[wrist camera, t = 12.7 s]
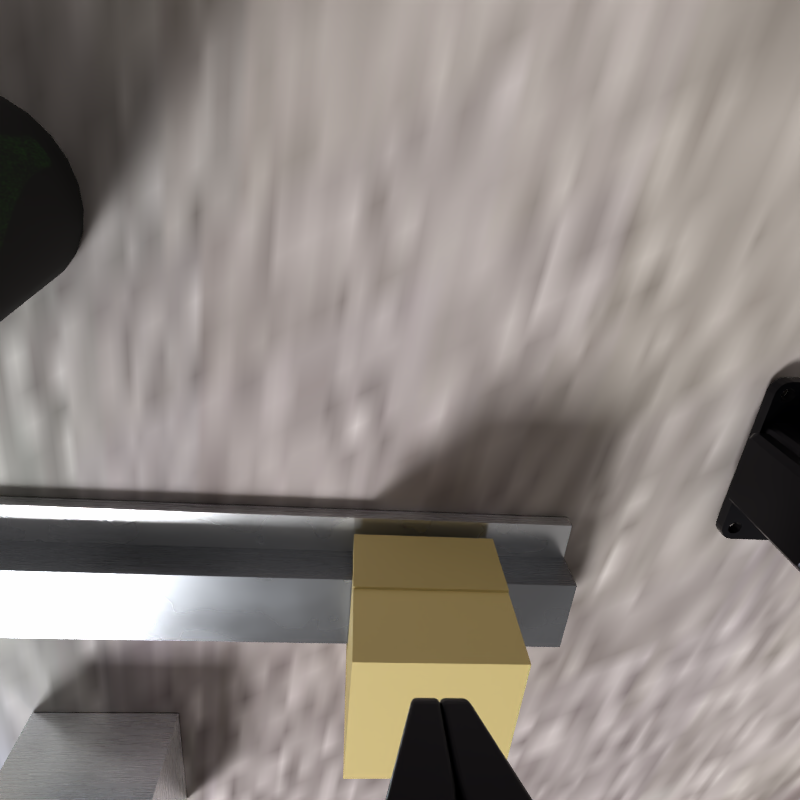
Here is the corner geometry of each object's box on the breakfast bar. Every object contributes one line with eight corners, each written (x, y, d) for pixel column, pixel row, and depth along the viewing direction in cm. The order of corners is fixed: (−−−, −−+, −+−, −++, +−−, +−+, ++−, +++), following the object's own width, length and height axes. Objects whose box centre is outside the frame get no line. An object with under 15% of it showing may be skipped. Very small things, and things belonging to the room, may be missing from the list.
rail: (567, 517, 22) (585, 552, 21) (537, 634, 25) (552, 674, 23) (-55, 494, 20) (-95, 531, 18) (-18, 624, 23) (-51, 667, 21)
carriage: (492, 538, 21) (531, 661, 17) (472, 643, 24) (501, 780, 19) (354, 534, 21) (352, 659, 16) (346, 641, 23) (343, 780, 18)
